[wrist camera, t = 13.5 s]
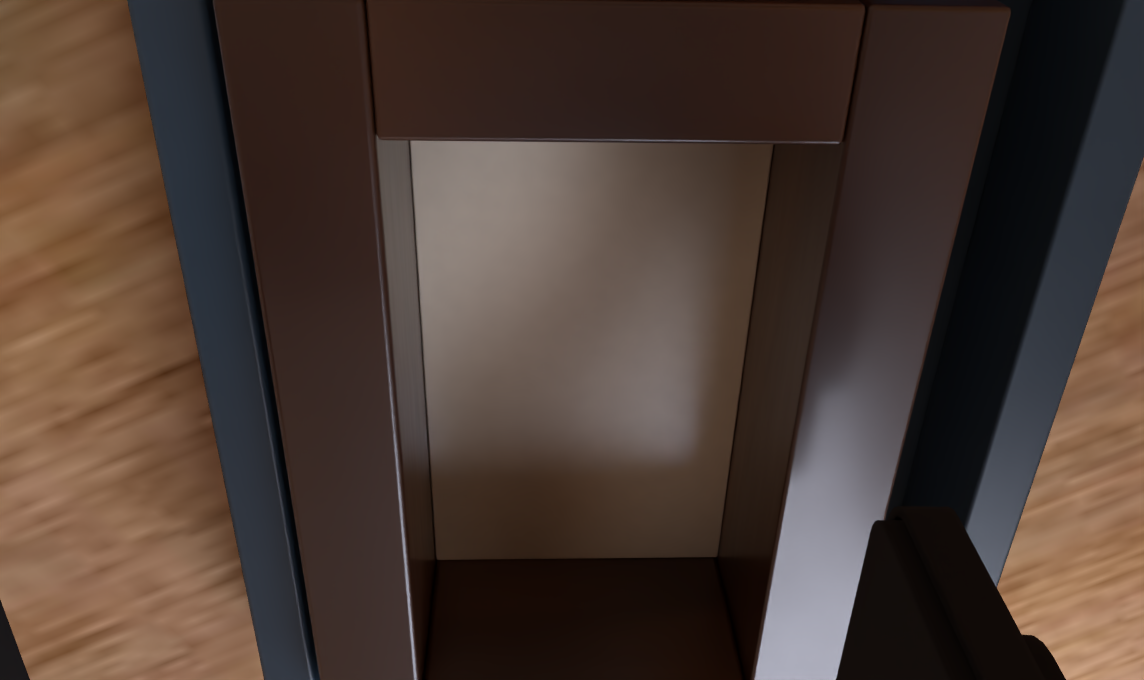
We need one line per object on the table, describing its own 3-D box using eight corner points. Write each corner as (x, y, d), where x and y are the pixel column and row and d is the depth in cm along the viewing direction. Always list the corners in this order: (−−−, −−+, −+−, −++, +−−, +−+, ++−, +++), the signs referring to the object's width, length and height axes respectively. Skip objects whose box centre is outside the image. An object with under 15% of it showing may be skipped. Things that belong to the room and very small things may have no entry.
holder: (1128, -217, 12) (1270, -205, 9) (889, 646, 19) (937, 765, 17) (165, -244, 11) (75, -238, 9) (310, 655, 19) (281, 778, 16)
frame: (910, -52, 12) (1015, 6, 9) (785, 603, 18) (829, 750, 15) (278, -64, 12) (207, -7, 9) (359, 609, 17) (331, 760, 15)
